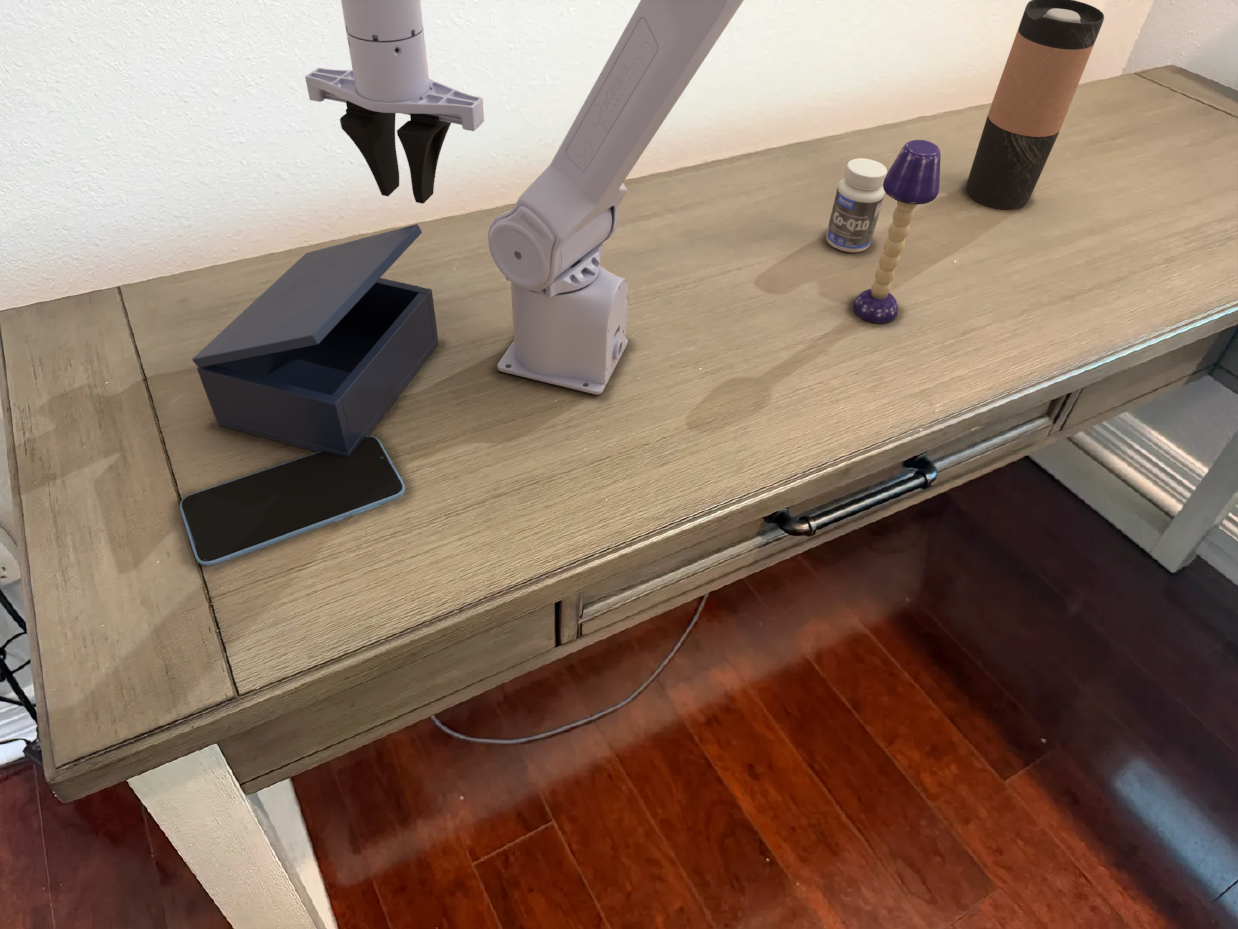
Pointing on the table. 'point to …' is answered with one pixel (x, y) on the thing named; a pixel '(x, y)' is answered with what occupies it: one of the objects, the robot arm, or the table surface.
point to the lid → (308, 298)
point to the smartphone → (288, 501)
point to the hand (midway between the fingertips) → (407, 194)
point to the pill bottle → (857, 205)
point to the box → (330, 375)
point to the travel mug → (1032, 100)
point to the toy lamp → (900, 222)
